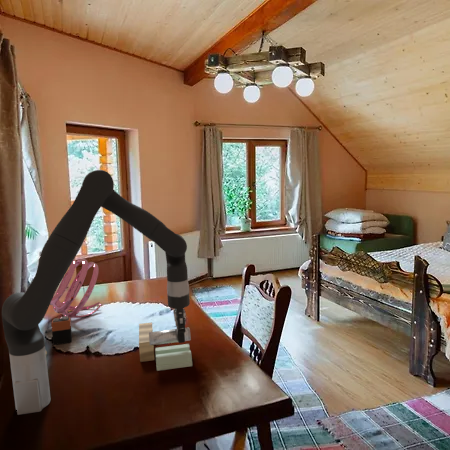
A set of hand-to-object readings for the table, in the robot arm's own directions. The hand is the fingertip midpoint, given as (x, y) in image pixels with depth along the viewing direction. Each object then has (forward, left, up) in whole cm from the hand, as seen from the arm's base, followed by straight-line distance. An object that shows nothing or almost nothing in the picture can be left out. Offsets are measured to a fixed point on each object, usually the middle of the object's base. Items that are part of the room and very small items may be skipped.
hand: (180, 339), depth 137 cm
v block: (0, +3, -8) cm, 8 cm away
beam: (+12, +12, -8) cm, 19 cm away
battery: (+29, +45, -8) cm, 54 cm away
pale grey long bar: (0, +4, +2) cm, 4 cm away
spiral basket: (+60, +45, -8) cm, 75 cm away
